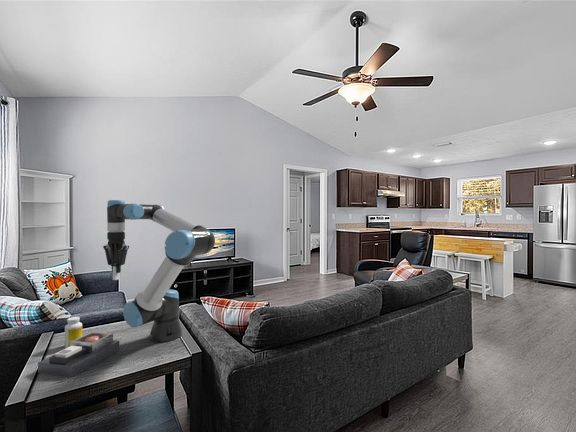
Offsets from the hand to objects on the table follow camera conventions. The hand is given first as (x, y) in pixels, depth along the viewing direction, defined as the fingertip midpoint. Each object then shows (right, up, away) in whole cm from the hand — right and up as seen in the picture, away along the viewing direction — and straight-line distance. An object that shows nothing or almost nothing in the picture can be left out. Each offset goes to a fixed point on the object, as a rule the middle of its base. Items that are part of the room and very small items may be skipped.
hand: (116, 279), depth 143 cm
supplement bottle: (-16, -30, -7) cm, 34 cm away
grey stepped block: (-2, -29, -21) cm, 36 cm away
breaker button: (-1, -25, -16) cm, 30 cm away
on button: (-3, -25, -27) cm, 37 cm away
